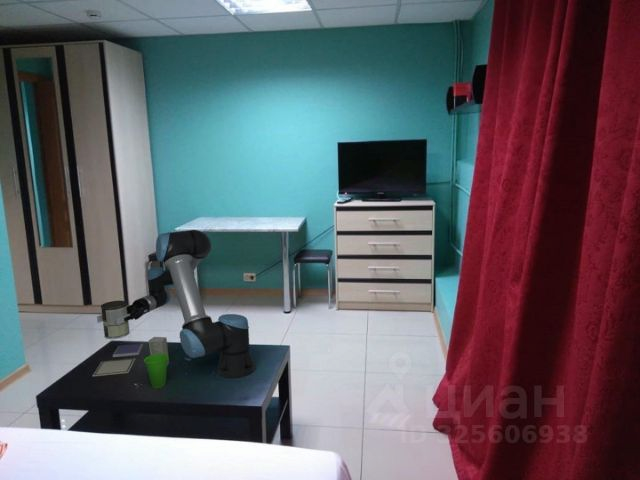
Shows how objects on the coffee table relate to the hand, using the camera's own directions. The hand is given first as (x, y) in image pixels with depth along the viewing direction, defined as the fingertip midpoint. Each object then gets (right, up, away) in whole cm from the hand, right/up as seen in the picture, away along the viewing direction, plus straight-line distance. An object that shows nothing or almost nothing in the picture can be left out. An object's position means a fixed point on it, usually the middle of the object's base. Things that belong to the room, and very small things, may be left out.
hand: (107, 320), depth 197 cm
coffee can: (+2, -7, +5) cm, 9 cm away
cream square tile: (+3, -20, 0) cm, 20 cm away
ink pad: (+2, -17, +16) cm, 24 cm away
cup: (+28, -22, -17) cm, 39 cm away
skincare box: (+22, -19, 0) cm, 30 cm away
